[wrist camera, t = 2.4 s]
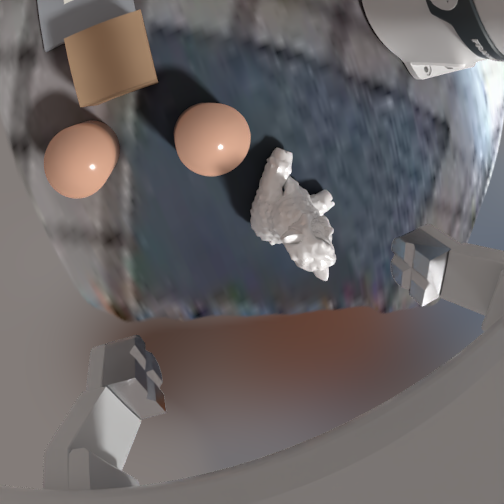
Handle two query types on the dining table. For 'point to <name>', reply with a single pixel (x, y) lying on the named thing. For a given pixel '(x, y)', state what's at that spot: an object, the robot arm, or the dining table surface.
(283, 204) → the seated beast figurine
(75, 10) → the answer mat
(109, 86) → the walnut cube
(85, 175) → the peach rounded cylinder
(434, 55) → the robot arm
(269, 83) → the dining table surface
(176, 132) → the rounded tan cylinder
